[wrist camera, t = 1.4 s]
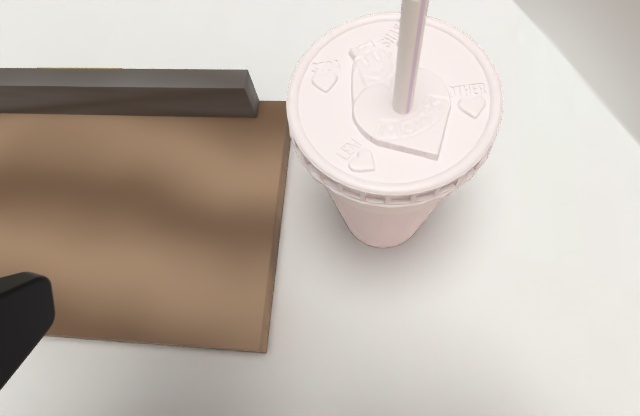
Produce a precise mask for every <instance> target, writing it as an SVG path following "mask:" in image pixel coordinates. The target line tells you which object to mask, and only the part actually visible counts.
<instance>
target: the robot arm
mask: <svg viewBox="0 0 640 416" xmlns="http://www.w3.org/2000/svg"><path fill="white" fill-rule="evenodd" d="M55 315H56V313H55V305H54V298H53V291H52V284H51V281H50V280H49V278H47V277H46V276H43V275H40V274H36V273H33V272H27V271H26V272H20V273H16V274H12V275H8V276H4V277H0V390H1V389H2V388H3V386H4V385H5V384H6V383H7V381H8V380H9V379H10V378H11V376H12V375H13V374H14V373H15V371H16V370H17V369H18V368H19V366H20V365H21V364H22V363H23V361H24V360H25V359H26V358H27V356H28V355H29V354H30V353H31V351H32V350H33V349H34V348H35V346H36V345H37V344H38V343H39V341H40V340H41V339H42V338H43V336H44V335H45V334H46V333H47V331H48V330H49V329H50V328H51V326H52V324H53V322H54V319H55Z"/></svg>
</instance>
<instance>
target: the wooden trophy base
mask: <svg viewBox="0 0 640 416" xmlns="http://www.w3.org/2000/svg"><path fill="white" fill-rule="evenodd" d="M290 139H291V137H290V133H289V123H288V118H287V110H286V101H259V99H258V96H257V93H256V91H255V88H254V85H253V83H252V80H251V77H250V75H249V72H248V70H207V69H122V68H0V277H4V276H8V275H12V274H16V273H20V272H26V271H27V272H33V273H36V274H40V275H43V276H46V277H47V278H49V280H50V281H51V284H52V291H53V298H54V305H55V313H56V315H55V319H54V322H53V324H52V326H51V328H50V329H49V330H48V331H47V333H46V334H45V335H44V336H53V337H66V338H79V339H92V340H105V341H118V342H131V343H144V344H157V345H170V346H183V347H196V348H209V349H222V350H234V351H247V352H260V353H266V352H267V343H268V334H269V325H270V316H271V307H272V299H273V290H274V281H275V272H276V263H277V254H278V246H279V237H280V228H281V219H282V210H283V201H284V192H285V184H286V175H287V166H288V157H289V148H290Z"/></svg>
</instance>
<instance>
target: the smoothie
mask: <svg viewBox="0 0 640 416" xmlns="http://www.w3.org/2000/svg"><path fill="white" fill-rule="evenodd" d="M428 4H429V0H402V4H401V12H383V13H375V14H370V15H365V16H361V17H358V18H355V19H352V20H350V21H347V22H345V23H343V24H341V25H339V26H337V27H335V28H333V29H332V30H330V31H328V32H327V33H325V34H324V35H323V36H321V37H320V38H319V39H318V40H317V41H316V42H314V43H313V44H312V45H311V46H310V47H309V49H308V50H307V51H306V52H305V53H304V55H303V56H302V57H301V59H300V60H299V62H298V64H297V65H296V67H295V69H294V71H293V74H292V76H291V79H290V82H289V86H288V90H287V98H286V110H287V118H288V123H289V133H290V137H291V140H292V143H293V145H294V148H295V150H296V153H297V156H298V158H299V159H300V160H301V162H302V163H303V164H304V166H305V167H306V168H307V170H308V171H309V172H310V174H311V175H312V176H313V177H314V178H315V179H316V180H317V181H319V182H320V183H321V184H323V185H324V186H325V187H326V188H327V190H328V191H329V193H330V195H331V197H332V199H333V201H334V202H335V204H336V206H337V208H338V210H339V211H340V213H341V215H342V217H343V219H344V221H345V222H346V224H347V226H348V228H349V230H350V231H351V232H352V234H353V235H354V236H355V237H356V238H357V239H359V240H360V241H361V242H363V243H365V244H367V245H370V246H373V247H379V248H388V247H393V246H397V245H399V244H401V243H403V242H405V241H406V240H408V239H409V238H410V237H411V236H412V235H413V234H414V233H415V232H416V230H417V229H418V228H419V227H420V225H421V224H422V223H423V222H424V221H425V219H426V218H427V217H428V216H429V214H430V213H431V212H432V211H433V209H434V208H435V207H436V206H437V204H438V203H439V202H440V201H441V200H442V198H443V197H444V196H447V195H449V194H450V193H451V192H453V191H454V190H456V189H457V188H459V187H460V186H461V185H463V184H464V183H466V182H467V181H469V180H470V179H471V178H472V177H473V175H474V174H475V173H476V172H477V170H478V169H479V168H480V167H481V165H482V164H483V163H484V162H485V160H486V159H487V158H488V155H489V153H490V150H491V148H492V145H493V143H494V140H495V138H496V135H497V132H498V130H499V127H500V123H501V120H502V114H503V92H502V87H501V82H500V79H499V76H498V73H497V71H496V69H495V67H494V65H493V63H492V61H491V60H490V58H489V57H488V55H487V54H486V53H485V51H484V50H483V49H482V48H481V47H480V46H479V45H478V44H477V43H476V42H475V41H474V40H473V39H472V38H471V37H469V36H468V35H467V34H465V33H464V32H463V31H461V30H459V29H458V28H456V27H454V26H452V25H450V24H448V23H446V22H444V21H441V20H439V19H436V18H433V17H430V16H427V10H428Z"/></svg>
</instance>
